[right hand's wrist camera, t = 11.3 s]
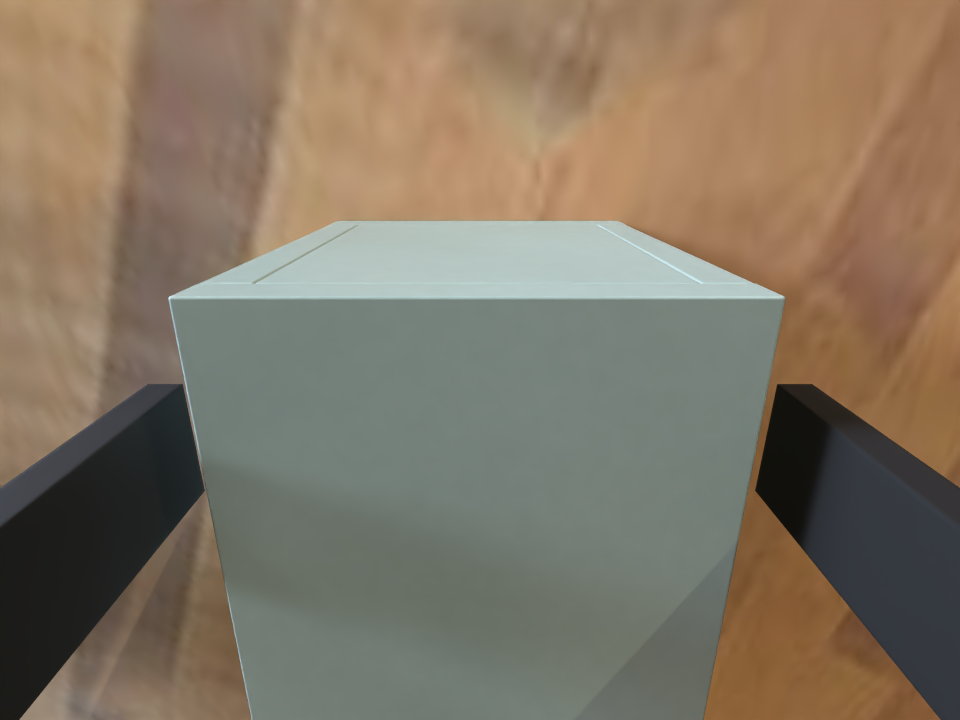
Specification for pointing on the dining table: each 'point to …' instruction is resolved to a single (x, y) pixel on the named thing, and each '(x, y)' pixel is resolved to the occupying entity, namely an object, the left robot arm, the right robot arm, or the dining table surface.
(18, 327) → the dining table surface
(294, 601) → the cabinet
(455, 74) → the dining table surface
